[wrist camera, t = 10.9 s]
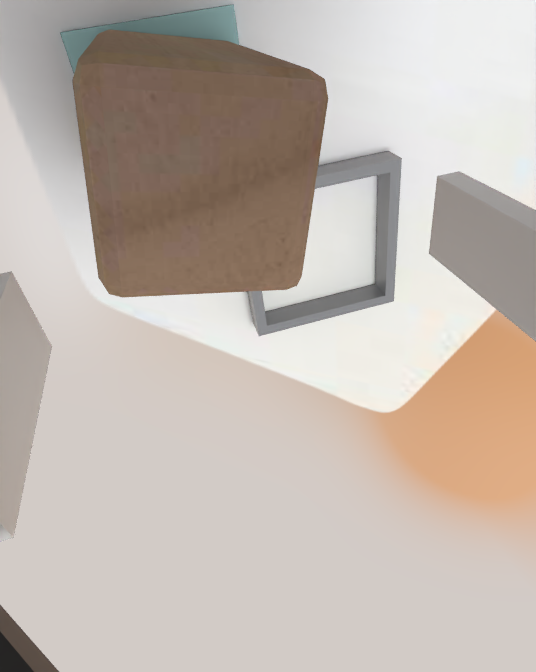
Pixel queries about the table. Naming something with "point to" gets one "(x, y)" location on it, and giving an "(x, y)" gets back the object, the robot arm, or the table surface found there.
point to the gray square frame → (386, 249)
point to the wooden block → (196, 163)
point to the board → (162, 29)
